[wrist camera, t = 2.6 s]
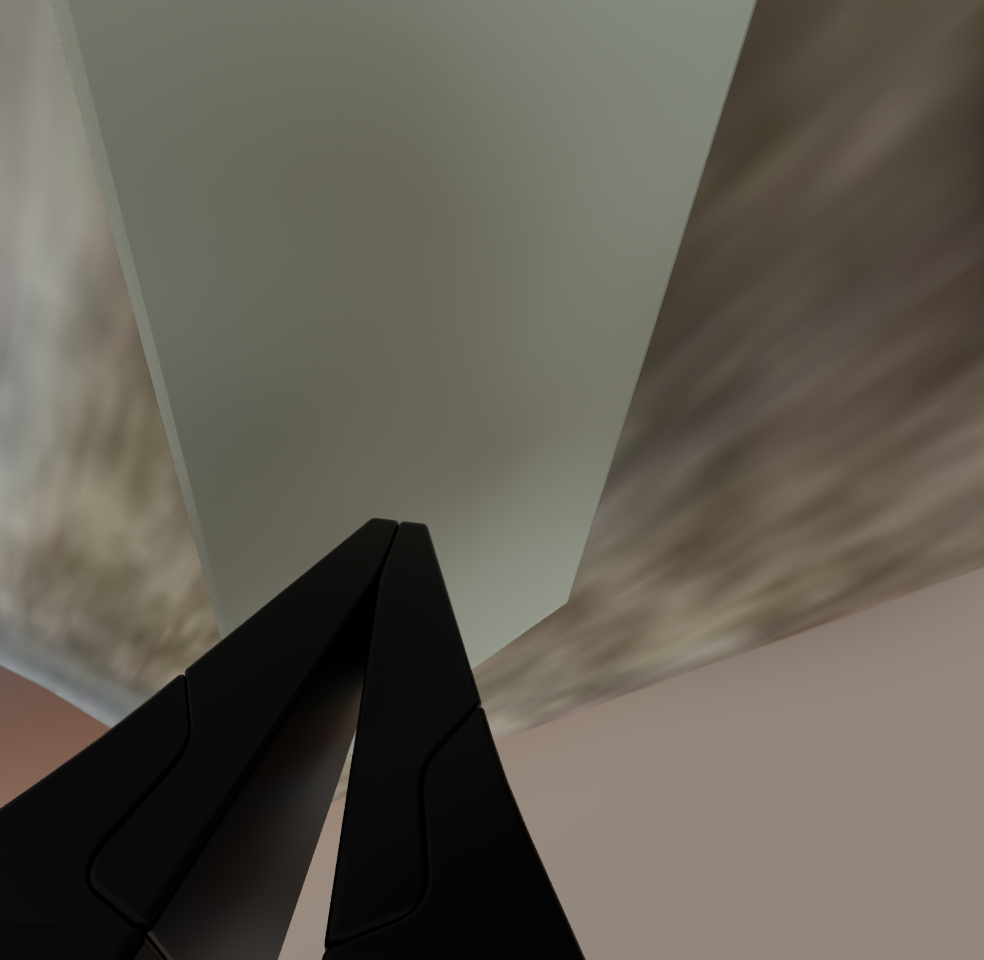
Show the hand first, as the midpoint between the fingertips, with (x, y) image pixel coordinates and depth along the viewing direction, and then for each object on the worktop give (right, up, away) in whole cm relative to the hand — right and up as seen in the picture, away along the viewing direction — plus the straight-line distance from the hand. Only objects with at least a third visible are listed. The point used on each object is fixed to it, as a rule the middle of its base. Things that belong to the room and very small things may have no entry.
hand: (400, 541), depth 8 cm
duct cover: (+1, +3, +4) cm, 5 cm away
